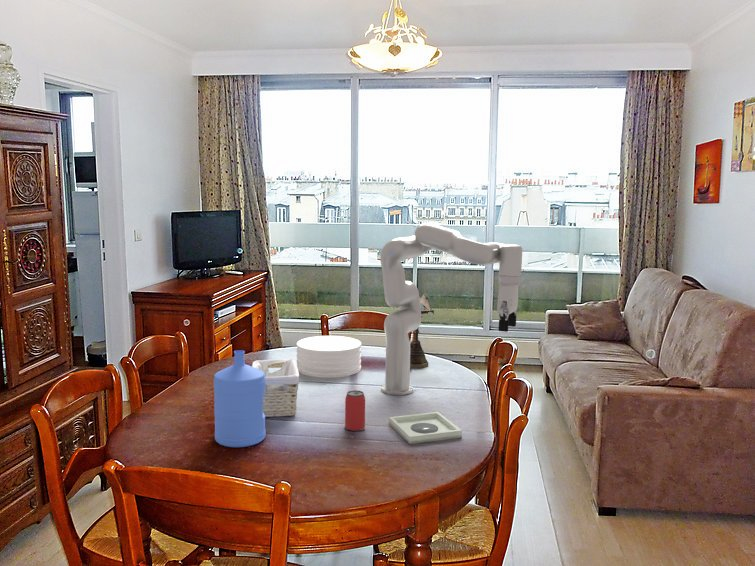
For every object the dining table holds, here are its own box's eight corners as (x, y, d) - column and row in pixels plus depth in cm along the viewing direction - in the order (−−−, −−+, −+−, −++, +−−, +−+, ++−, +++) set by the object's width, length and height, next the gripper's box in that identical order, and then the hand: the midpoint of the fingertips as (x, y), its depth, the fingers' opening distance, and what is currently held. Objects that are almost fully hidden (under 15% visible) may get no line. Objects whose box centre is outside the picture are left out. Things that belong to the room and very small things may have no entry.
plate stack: (359, 378, 269) (360, 351, 267) (292, 377, 269) (292, 350, 268) (362, 360, 297) (362, 336, 295) (301, 359, 297) (301, 335, 295)
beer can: (368, 426, 215) (368, 391, 213) (359, 433, 209) (359, 397, 207) (350, 423, 218) (351, 388, 216) (341, 429, 212) (341, 394, 210)
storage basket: (252, 397, 242) (251, 359, 240) (295, 395, 245) (295, 357, 243) (251, 420, 219) (251, 377, 217) (299, 417, 222) (300, 376, 220)
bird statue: (437, 370, 282) (439, 291, 277) (408, 371, 280) (410, 291, 274) (428, 360, 298) (430, 285, 293) (400, 361, 296) (401, 285, 291)
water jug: (241, 452, 192) (240, 361, 188) (203, 441, 200) (201, 352, 196) (276, 436, 205) (275, 350, 201) (239, 425, 213) (238, 343, 209)
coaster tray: (388, 424, 217) (389, 417, 217) (437, 418, 223) (437, 411, 223) (409, 444, 201) (409, 436, 200) (461, 437, 207) (461, 430, 206)
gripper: (506, 276, 233) (503, 323, 235) (491, 282, 218) (489, 332, 220) (526, 278, 229) (524, 325, 232) (513, 284, 214) (510, 334, 217)
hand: (507, 328), depth 226 cm, fingers open, 9 cm apart
